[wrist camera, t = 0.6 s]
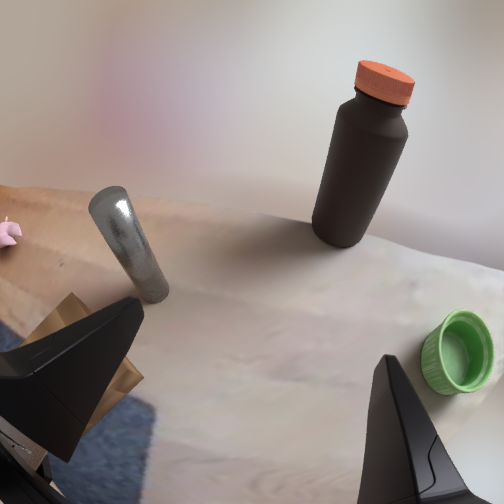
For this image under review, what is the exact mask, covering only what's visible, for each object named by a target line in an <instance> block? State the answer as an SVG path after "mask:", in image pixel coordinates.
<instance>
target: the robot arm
mask: <svg viewBox="0 0 504 504" xmlns="http://www.w3.org/2000/svg"><path fill="white" fill-rule="evenodd" d="M143 319H144V311H143V307H142V304H141V301H140V299H139V298H137V297H134V296H128V297H126V298H124V299H122V300H120V301H118V302H116V303H113V304H111V305H109V306H107V307H105V308H103V309H101V310H99V311H97V312H95V313H93V314H91V315H89V316H86V317H84V318H82V319H80V320H78V321H76V322H74V323H72V324H70V325H68V326H66V327H64V328H62V329H60V330H58V331H57V332H54V333H52V334H49V335H47V336H45V337H43V338H41V339H39V340H36V341H34V342H31V343H29V344H26V345H24V346H21V347H19V348H16V349H13V350H11V351H8V352H0V500H1V501H2V502H3V503H4V504H72V503H71V502H70V501H69V500H67V499H66V498H65V497H64V496H62V495H61V494H60V493H59V492H57V491H56V490H55V489H54V488H53V487H51V486H50V485H49V484H50V483H51V481H52V474H51V470H50V465H49V460H48V456H47V455H46V454H47V452H50V453H51V454H53V455H55V456H56V457H58V458H60V459H61V460H63V461H65V462H66V463H68V462H69V461H70V459H71V457H72V455H73V453H74V451H75V449H76V447H77V444H78V442H79V440H80V438H81V437H82V435H83V433H84V431H85V429H86V426H87V425H88V423H89V421H90V419H91V417H92V415H93V413H94V411H95V409H96V407H97V406H98V404H99V402H100V400H101V398H102V396H103V395H104V393H105V391H106V389H107V387H108V386H109V384H110V382H111V380H112V378H113V377H114V375H115V373H116V371H117V370H118V368H119V366H120V365H121V363H122V361H123V359H124V358H125V356H126V354H127V352H128V351H129V349H130V347H131V345H132V343H133V340H134V338H135V336H136V334H137V332H138V330H139V327H140V325H141V323H142V321H143ZM357 504H491V503H489V502H487V501H485V500H483V499H481V498H479V497H477V496H476V495H474V494H473V493H472V492H471V491H470V490H469V489H468V487H467V486H466V484H465V483H464V481H463V479H462V478H461V476H460V474H459V472H458V471H457V469H456V467H455V466H454V464H453V462H452V461H451V459H450V457H449V455H448V453H447V451H446V449H445V447H444V445H443V443H442V441H441V439H440V437H439V435H438V434H437V431H436V429H435V427H434V425H433V423H432V421H431V419H430V417H429V415H428V413H427V412H426V410H425V408H424V406H423V404H422V402H421V400H420V398H419V396H418V395H417V393H416V391H415V389H414V387H413V386H412V384H411V382H410V380H409V378H408V377H407V375H406V373H405V371H404V370H403V368H402V366H401V364H400V363H399V361H398V359H397V358H396V356H394V355H387V354H385V355H383V357H382V358H381V360H380V361H379V363H378V365H377V366H376V368H375V370H374V375H373V383H372V390H371V396H370V403H369V409H368V419H367V433H366V444H365V454H364V462H363V470H362V477H361V484H360V490H359V496H358V501H357Z"/></svg>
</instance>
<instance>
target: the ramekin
mask: <svg viewBox="0 0 504 504" xmlns="http://www.w3.org/2000/svg"><path fill="white" fill-rule="evenodd" d="M494 358H495V351H494V343H493V339H492V336H491V333H490V330H489V328H488V326H487V325H486V323H485V322H484V320H483V319H482V318H481V317H480V316H479V315H478V314H476V313H475V312H473V311H471V310H468V309H459V310H456V311H454V312H452V313H451V314H449V315H448V316H447V317H446V318H445V320H444V321H443V323H442V324H440V325H439V326H438V327H437V328H436V329H435V330H434V331H433V332H432V333H430V335H429V336H428V337H427V339H426V341H425V343H424V345H423V349H422V353H421V368H422V372H423V376H424V378H425V380H426V382H427V383H428V385H429V386H430V387H431V388H432V389H433V390H434V391H435V392H437V393H439V394H442V395H452V394H457V393H471V392H475V391H477V390H478V389H480V388H481V387H482V386H483V385H484V384H485V383H486V382H487V380H488V379H489V377H490V375H491V372H492V369H493V365H494Z"/></svg>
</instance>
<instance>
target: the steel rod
mask: <svg viewBox="0 0 504 504" xmlns="http://www.w3.org/2000/svg"><path fill="white" fill-rule="evenodd" d="M88 210H89V213H90V215H91V217H92V218H93V220H94V222H95V224H96V225H97V227H98V229H99V230H100V232H101V234H102V235H103V237H104V239H105V240H106V242H107V244H108V245H109V247H110V248H111V250H112V252H113V253H114V255H115V256H116V258H117V259H118V261H119V263H120V264H121V266H122V267H123V269H124V270H125V272H126V273H127V275H128V276H129V278H130V279H131V281H132V282H133V283H134V285H135V286H136V288H137V289H138V291H139V292H140V293H141V295H142V296H143V298H144V299H145V300H146V301H147V302H149V303H159V302H161V301H163V300H164V299H165V298H166V297H167V295H168V292H169V286H168V283H167V281H166V279H165V277H164V275H163V273H162V271H161V269H160V267H159V265H158V263H157V261H156V259H155V256H154V254H153V252H152V250H151V248H150V246H149V243H148V241H147V239H146V237H145V235H144V232H143V230H142V228H141V225H140V223H139V221H138V218H137V216H136V214H135V211H134V209H133V206H132V204H131V202H130V199H129V197H128V194H127V192H126V190H125V189H124V188H123V187H120V186H112V187H108V188H105V189H103V190H101V191H100V192H98V193H97V194H96V195H95V196H94V197H93V198H92V200H91V201H90V204H89V207H88Z"/></svg>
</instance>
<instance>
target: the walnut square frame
mask: <svg viewBox="0 0 504 504" xmlns="http://www.w3.org/2000/svg"><path fill="white" fill-rule="evenodd" d="M91 314H93V313H92V311H91V310H90V309H89V308H88V307H87V306H86V305H85V304H84V303H83V302H82V301H81V300H80V299H78V298H77V297H76V296H75V295H74V294H73V293H72V292H71V293H70V294H69V295H68V296H67V297H66V298H65V299H64V300H63V301H62V302H61V303H60V304H59V305H58V306H57V307H56V308H55V309H54V310H53V311H52V312H51V313H50V314H49V315H48V316H47V317H46V318H45V319H44V320H43V321H42V322H41V323H40V325H39V326H38V327H37V328H36V329H35V330H34V331H33V332H32V333H31V334H30V335H29V336H28V337H27V339H26V340H25V341H24V342H23V343H22V344H21V345H20V346H19V347H21V346H24V345H26V344H29V343H31V342H34V341H36V340H39V339H41V338H43V337H45V336H47V335H49V334H52V333H54V332H57V331H58V330H60V329H62V328H64V327H66V326H68V325H70V324H72V323H74V322H76V321H78V320H80V319H82V318H84V317H86V316H89V315H91ZM143 378H144V377H143V376H142V374H141V373H140V372H139V371H138V370H137V369H136V368H135V367H134V365H133V364H132V363H131V362H130V361H129V360H128V358H127V357H126V356H125V358H124V359H123V361H122V363H121V365H120V366H119V368H118V370H117V371H116V373H115V375H114V377H113V378H112V380H111V382H110V384H109V386H108V387H107V389H106V391H105V393H104V395H103V396H102V398H101V400H100V402H99V404H98V406H97V407H96V409H95V411H94V413H93V415H92V417H91V419H90V421H89V423H88V425H87V426H86V429H85V431H84V433H83V435H85V434H86V433H87V432H88V431H89V430H90V429H91V428H92V427H93V426H94V425H95V424H96V423H97V422H98V421H99V420H100V419H101V418H102V417H104V416H105V415H106V414H107V413H108V412H109V411H110V410H111V409H112V408H113V407H114V406H115V405H116V404H117V403H118V402H119V401H120V400H121V399H122V398H123V397H124V396H125V395H127V394H128V393H129V392H130V391H131V390H132V389H133V388H134V387H135V386H136V385H137V384H138V383H139V382H140V381H141V380H142V379H143ZM83 435H82V436H83Z"/></svg>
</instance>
